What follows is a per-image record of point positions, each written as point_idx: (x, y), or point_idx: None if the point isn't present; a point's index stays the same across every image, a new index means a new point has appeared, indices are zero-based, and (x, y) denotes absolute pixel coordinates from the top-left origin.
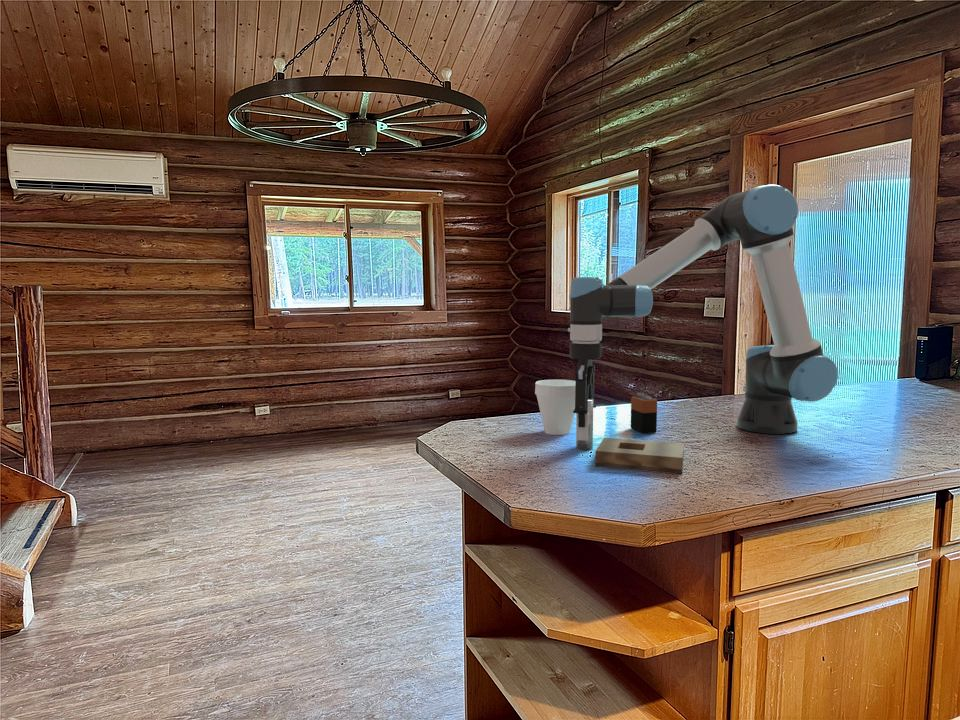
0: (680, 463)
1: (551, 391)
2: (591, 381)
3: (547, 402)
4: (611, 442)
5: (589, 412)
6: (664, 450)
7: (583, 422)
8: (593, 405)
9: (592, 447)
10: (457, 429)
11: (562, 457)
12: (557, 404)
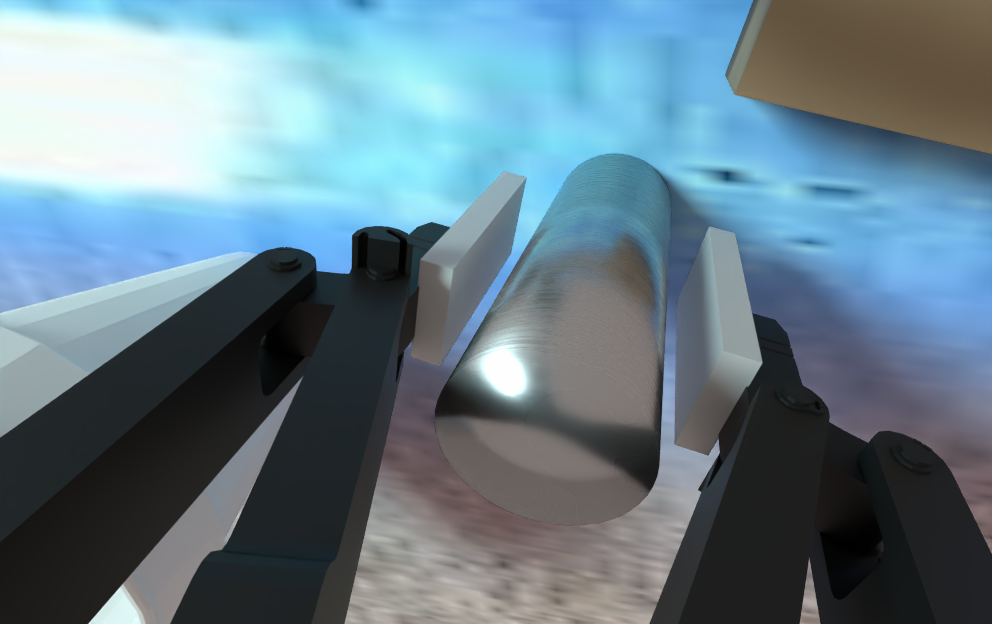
0: None
1: (186, 578)
2: (322, 612)
3: (237, 511)
4: (988, 29)
5: (652, 325)
6: None
7: (786, 356)
8: (386, 262)
9: (633, 160)
10: (351, 616)
11: (846, 363)
12: (237, 456)
